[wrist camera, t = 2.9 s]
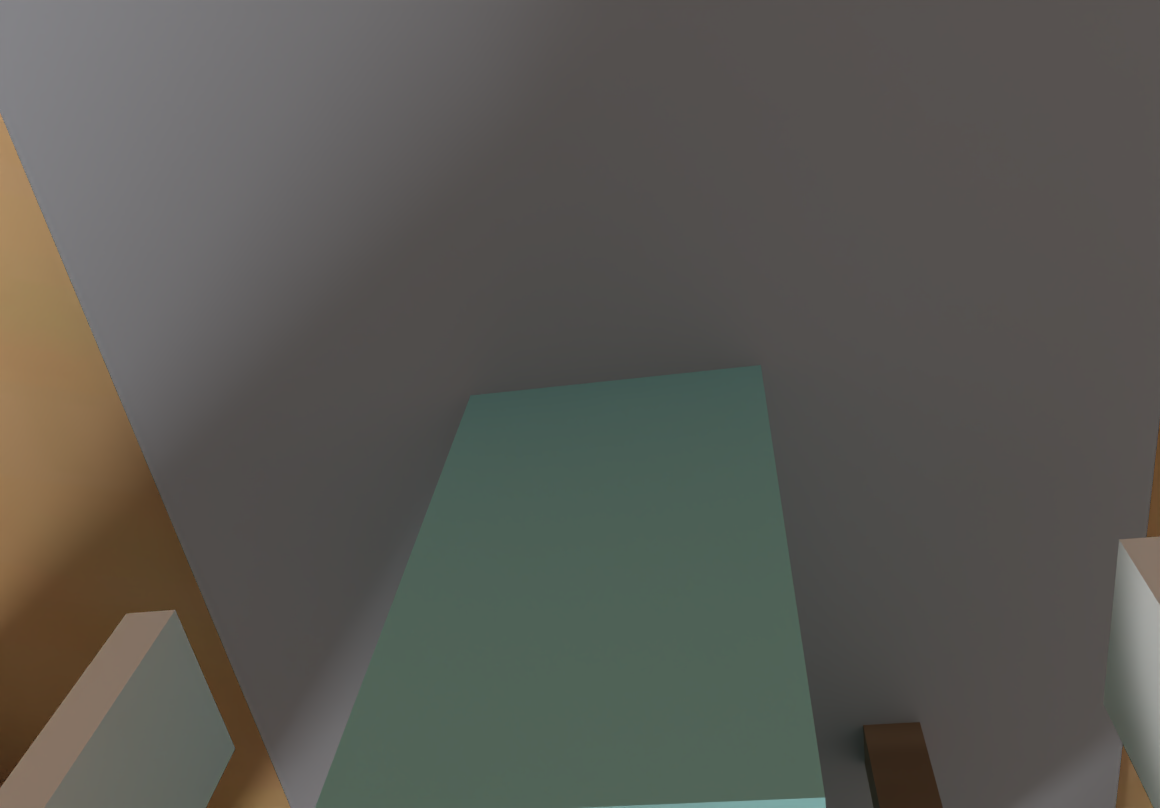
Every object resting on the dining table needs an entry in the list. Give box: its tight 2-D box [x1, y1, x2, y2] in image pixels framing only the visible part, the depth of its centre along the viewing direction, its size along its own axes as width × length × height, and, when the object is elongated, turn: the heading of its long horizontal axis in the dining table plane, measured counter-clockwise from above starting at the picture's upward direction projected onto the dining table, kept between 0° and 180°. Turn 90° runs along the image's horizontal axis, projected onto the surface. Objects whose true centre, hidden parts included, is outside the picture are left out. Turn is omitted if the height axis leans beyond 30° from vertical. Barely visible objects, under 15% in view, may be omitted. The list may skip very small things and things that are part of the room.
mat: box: [0, 0, 1160, 808], centre depth 18 cm, size 26×16×2 cm, turn 9°
